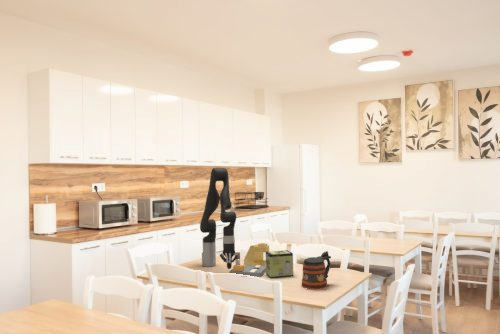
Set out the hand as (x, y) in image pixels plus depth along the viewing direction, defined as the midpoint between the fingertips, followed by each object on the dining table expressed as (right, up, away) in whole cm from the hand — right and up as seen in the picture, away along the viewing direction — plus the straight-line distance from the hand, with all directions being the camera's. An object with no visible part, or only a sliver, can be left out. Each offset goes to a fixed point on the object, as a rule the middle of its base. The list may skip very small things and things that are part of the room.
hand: (229, 268), depth 277 cm
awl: (+5, -1, +7) cm, 9 cm away
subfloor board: (+13, -4, +4) cm, 14 cm away
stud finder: (+6, -1, -1) cm, 6 cm away
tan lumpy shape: (+19, -4, +26) cm, 32 cm away
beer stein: (+52, -3, -32) cm, 62 cm away
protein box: (+33, -4, -6) cm, 33 cm away
